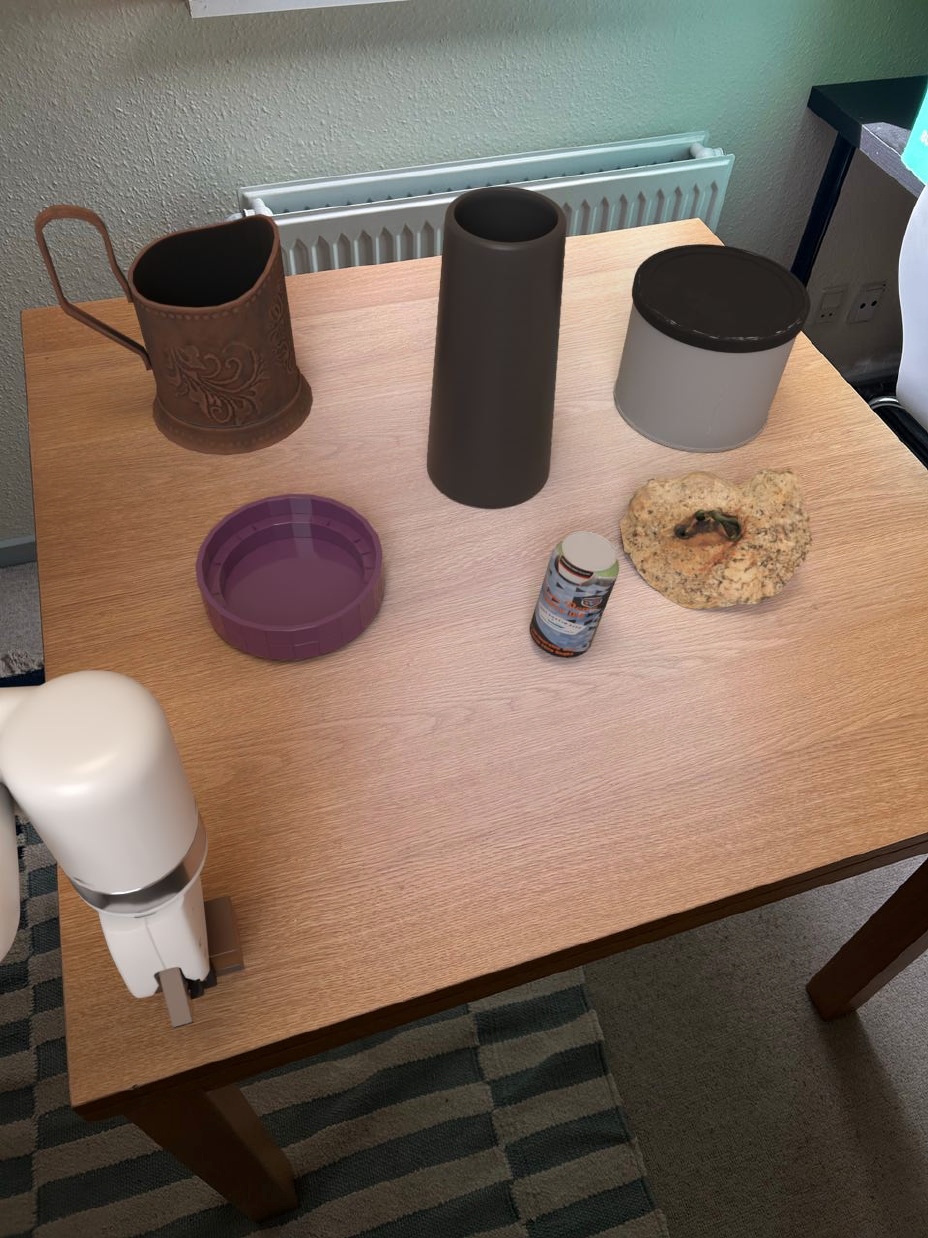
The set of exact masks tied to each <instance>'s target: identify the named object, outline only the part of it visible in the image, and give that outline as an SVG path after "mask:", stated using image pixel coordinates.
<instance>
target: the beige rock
mask: <svg viewBox="0 0 928 1238" xmlns="http://www.w3.org/2000/svg"><path fill="white" fill-rule="evenodd" d="M802 478H803V475H802V474H801V473H799V471H797V470H796V469H794V468H793V467H784V468H774V469H773V468H771V467H770V468H769V467H768V466H765V467H762V468H760V469H759V470H758V471H757V472H756V473H755V474H753V475H752V476H751V477H749V478H748V479H747V480H746V482H744V483H741V484H736V483H734V482H732V481H730V480H728V479H726V478H723V477H722V476H720V475H717V474H716V473H713V472H710V471H705V470H696V471H692V472H688V473H686V474H685V475H683V476H679V477H678V478H672V477H671V478H670V477H669V478H668V477H665V478H664V477H659V478H658V479H656V478H650V479H647V480H646V481H645V483H644V484H643V483H641V484H640V485H639V486H637V488H636V489H635V490H634V492H633V493H632V497H630V499H629V503H628V507H627V511H626V514H625V515H624V517H623V518H622V519H619V527H620V532H621V539H622V544H623V550H624V554H627V553H628V554H629V556H630V559H631V560H632V563H633V564H634V566H635V567H636V571H637V573H638V574H639V575H640V576H641V577H642V579H644V580H645V581H646V582H647V584H648V585H649V586H650V587H652V588H653V589H655V591H658V592H660V594H661V595H663V596H664V597H665V598H666V599H667V600H670V601H672V602H673V603H675V604H676V603H677V604H678V605H679V606H681V607H683V608H684V609H687V608H688V609H695V610H697V609H699V610H707V609H715V608H724V607H732V606H735V605H757V604H763V603H764V602H765V601H766V600H768V599H770V598H772V597H773V596H775V595H778V594H780V593H781V591H782V590H783V588H785V587H784V586H786V585H787V584H788V582H789V580H790V579H791V578H792V577H793V575H794V574H795V571H797V570H798V568H799V567H801V566H802V564H804V563H805V562H806V560H807V555H808V554H809V552H810V550H811V548H812V545H813V541H814V540H813V534H812V531H811V526H810V521H811V520H810V519H811V518H810V515H809V510H808V508H807V507H806V506H807V503H806V500H805V499H806V498H805V497H806V495H807V494H806V491H805V489H804V488H803V487H804V486H803V482H802V480H803V479H802ZM642 484H643V485H642Z"/></svg>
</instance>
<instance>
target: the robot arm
mask: <svg viewBox="0 0 928 1238" xmlns="http://www.w3.org/2000/svg"><path fill="white" fill-rule="evenodd" d="M16 816H20V817H24V818H26V819H27V820H28V821H29V823H30V824H31V826H32V827H33V828H34V830H35V831H36V833H37V835H38V836H39V838H40V839H41V841H42V842H43V843H44V845H45V846H46V848H47V850H49V852H50V854H51V855H52V856H53V858H54V859H55V861H56V862H57V864H58V865H59V867H60V868H61V871H62V872H63V873H64V875H65V876H66V878H67V879H68V881H69V882H70V884H71V885H72V887H73V888H74V890H75V891H76V893H77V894H78V895H79V897H80V898H81V900H82V901H84V903H86V904H87V906H89V907H90V908H92V909H94V910H95V911H97V913H98V918H99V922H100V926H101V930H102V933H103V936H104V939H105V943H106V945H107V948H108V949H109V953H110V955H111V958H112V960H113V963H114V964H115V966H116V968H117V970H118V972H119V975H120V976H121V978H122V980H123V982H124V984H125V985H126V988H127V989H128V991H129V992H130V994H132V996H133V997H135V998H137V999H144V998H149V997H152V996H154V995H155V994H154V993H155V992H156V990H157V988H158V986H159V982H160V984H161V986H162V989H163V992H162V993H163V996H164V1000H165V1003H166V1007H167V1011H168V1016H169V1019H170V1022H171V1027H172V1029H176V1028H181V1027H184V1026H187V1025H191V1024H194V1022H195V1004H194V1000H195V999H196V1000H197V999H198V998H201V997H203V996H204V995H205V994H206V991H205V990H208V989H212V988H214V987H215V988H216V987H217V986H218V977H216V974H215V972H214V970H213V968H212V966H211V963H210V961H209V955H208V942H207V930H206V920H205V911H204V901H205V900H204V894H203V887H202V886H203V885H202V879H201V872H202V871H203V868H204V866H205V864H206V859H207V855H208V850H209V838H208V832H207V829H206V826H205V824H204V821H203V817H202V815H201V812H200V809H199V806H198V803H197V800H196V797H195V794H194V792H193V790H192V786H191V784H190V780H189V778H188V774H187V772H186V769H185V766H184V764H183V760H182V757H181V754H180V751H179V749H178V745H177V743H176V740H175V737H174V734H173V732H172V728H171V726H170V723H169V721H168V717H167V715H166V713H165V711H164V709H163V706H162V705H161V703H160V701H159V700H158V698H157V697H156V696H155V695H154V693H152V691H151V690H149V689H148V688H147V687H146V686H145V685H144V684H142V683H141V682H139V681H138V680H136V679H134V678H132V677H130V676H128V675H126V674H124V673H119V672H116V671H110V670H103V669H86V670H80V671H79V670H78V671H73V672H69V673H66V674H62V675H60V676H57V677H55V678H52V679H50V680H48V681H45V682H44V683H42V684H40V685H29V686H27V685H26V686H9V687H0V963H1V962H2V961H3V960H4V958H5V957H6V956H7V954H8V953H9V951H10V950H11V948H12V946H13V944H14V941H15V938H16V935H17V933H18V929H19V925H20V917H21V895H20V894H21V891H20V871H19V870H20V869H19V868H20V867H19V854H18V842H17V829H16ZM156 977H158V979H159V981H158V980H157V978H156Z"/></svg>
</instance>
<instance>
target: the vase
mask: <svg viewBox="0 0 928 1238" xmlns="http://www.w3.org/2000/svg"><path fill="white" fill-rule="evenodd" d="M444 215H445V216H444V226H443V232H442V233H443V236H442V238H443V239H442V249H441V251H442V252H441V262H440V263H441V265H440V276H439V289H438V290H439V291H438V302H437V316H436V326H435V327H436V329H435V339H434V340H435V345H434V357H433V370H432V379H431V380H432V381H431V382H432V383H431V384H432V386H431V397H430V406H429V422H428V423H429V424H428V434H427V452H426V470H427V471H426V472H427V475H428V477H429V480H430V481H431V482H432V484H433V485H434V487H435V488H436V489H437V490H438V491H439V492H440V493H441V494H443V496H446V497H447V498H449V499H450V500H452V501H455V502H456V503H459V504H461V505H464V506H468V507H472V508H476V509H483V510H484V509H485V510H486V509H487V510H490V509H491V510H498V509H506V508H510V507H514V506H517V505H521V504H523V503H525V502H527V501H529V500H531V499H532V498H534V497H535V496H536V495H538V494H539V493H540V491H541V490H542V489H543V488H544V487H545V485H546V483H547V481H548V478H549V476H550V468H551V456H552V442H553V441H552V440H553V429H554V419H555V418H554V417H555V415H554V413H555V400H556V389H557V386H556V385H557V371H558V359H559V342H560V330H561V316H562V315H561V314H562V302H563V301H562V300H563V299H562V298H563V297H562V296H563V283H564V271H565V255H566V243H567V225H568V223H567V222H568V221H567V216H566V213H565V212H564V210H563V208H561V206H560V205H559V204H558V203H557V202H555V201H554V200H553V199H551V198H549V197H548V196H546V195H544V194H542V193H540V192H537V191H533V190H531V189H527V188H522V187H517V186H507V185H506V186H500V185H499V186H485V187H480V188H475V189H472V190H470V191H468V192H467V191H466V192H464V193H462V194H460V195H459V196H457V197H456V198H454V199H453V200H452V201H451V202H450V204H448V205H447V208H446V211H445V213H444Z"/></svg>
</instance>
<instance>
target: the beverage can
mask: <svg viewBox="0 0 928 1238" xmlns="http://www.w3.org/2000/svg"><path fill="white" fill-rule="evenodd" d="M619 573H620V564H619V559H618V552H617V549H616V547H615V545H614V544H613V543H612V542H611V541H610V540H609V539H608V538H607V537H604V536H602V535H600V534H598V533H595V532H593V531H592V532H591V531H587V530H579V531H578V530H577V531H573V532H570V533H568V534H567V535H565V537H563V539H562V540H561V541H559V542H558V543H557V544H556V545H555V546H554V548H553V549H552V552H551V555H550V557H549V561H548V565H547V568H546V571H545V574H544V578H543V581H542V584H541V588H540V591H539V594H538V597H537V600H536V603H535V607H534V610H533V613H532V617H531V620H530V623H529V629H528V630H529V635H530V637H531V639H532V641H533V643H534V644H535V645H536V646H537V647H538V648H539V649H541V651H544V652H545V653H547V654H549V655H550V656H554V657H558V658H564V659H570V658H577V657H579V656H582V655H583V654H585V653H586V652H587V651H589V649H590V648H591V646H592V644H593V641H594V638H595V635H596V634H597V630H598V628H599V625H600V623H601V620H602V617H603V615H604V612H605V610H606V607H607V604H608V602H609V599H610V597H611V594H612V592H613V589H614V586H615V584H616V581H617V579H618V577H619Z"/></svg>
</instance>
